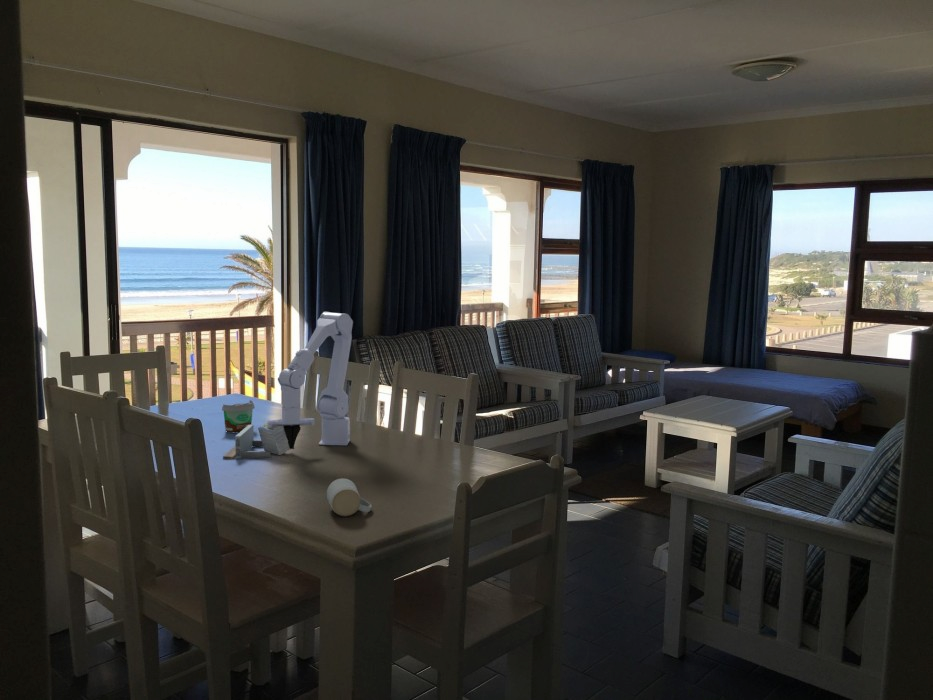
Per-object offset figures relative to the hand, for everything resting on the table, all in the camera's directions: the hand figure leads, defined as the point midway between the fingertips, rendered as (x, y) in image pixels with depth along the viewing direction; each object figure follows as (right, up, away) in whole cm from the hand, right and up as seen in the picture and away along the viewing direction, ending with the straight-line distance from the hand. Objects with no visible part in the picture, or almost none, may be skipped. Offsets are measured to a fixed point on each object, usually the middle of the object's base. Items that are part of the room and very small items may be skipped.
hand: (291, 448), depth 240 cm
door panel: (-15, -1, 0) cm, 15 cm away
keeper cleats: (-10, -1, 0) cm, 10 cm away
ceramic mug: (+27, -9, -53) cm, 60 cm away
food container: (-24, +2, +27) cm, 36 cm away
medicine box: (-4, -1, 0) cm, 5 cm away
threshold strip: (-17, -1, 0) cm, 18 cm away
